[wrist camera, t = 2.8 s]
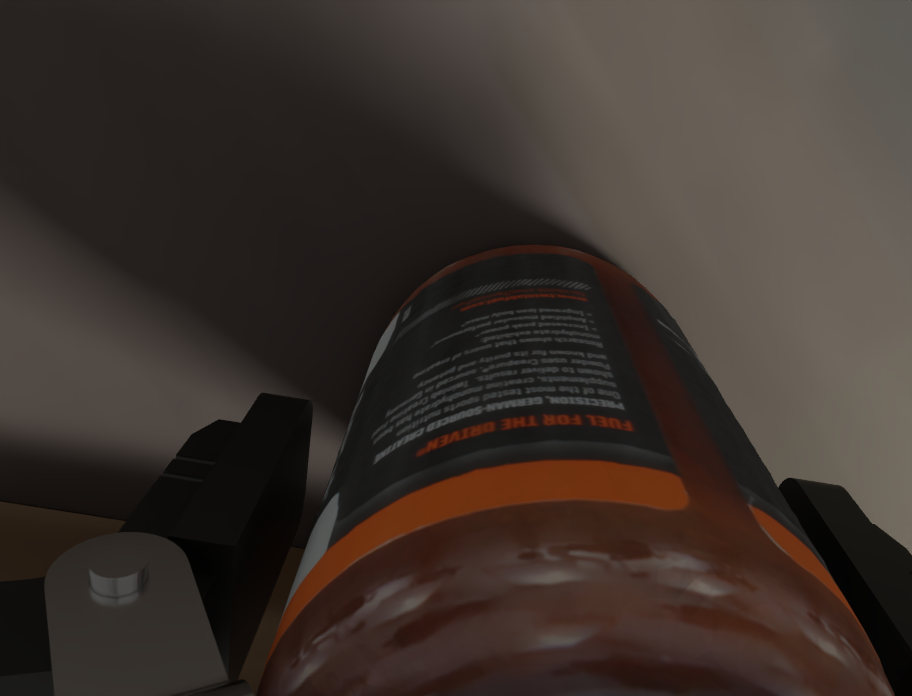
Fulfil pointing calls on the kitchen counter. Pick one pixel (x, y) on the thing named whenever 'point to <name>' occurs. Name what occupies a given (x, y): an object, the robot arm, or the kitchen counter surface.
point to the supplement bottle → (555, 512)
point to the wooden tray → (54, 532)
